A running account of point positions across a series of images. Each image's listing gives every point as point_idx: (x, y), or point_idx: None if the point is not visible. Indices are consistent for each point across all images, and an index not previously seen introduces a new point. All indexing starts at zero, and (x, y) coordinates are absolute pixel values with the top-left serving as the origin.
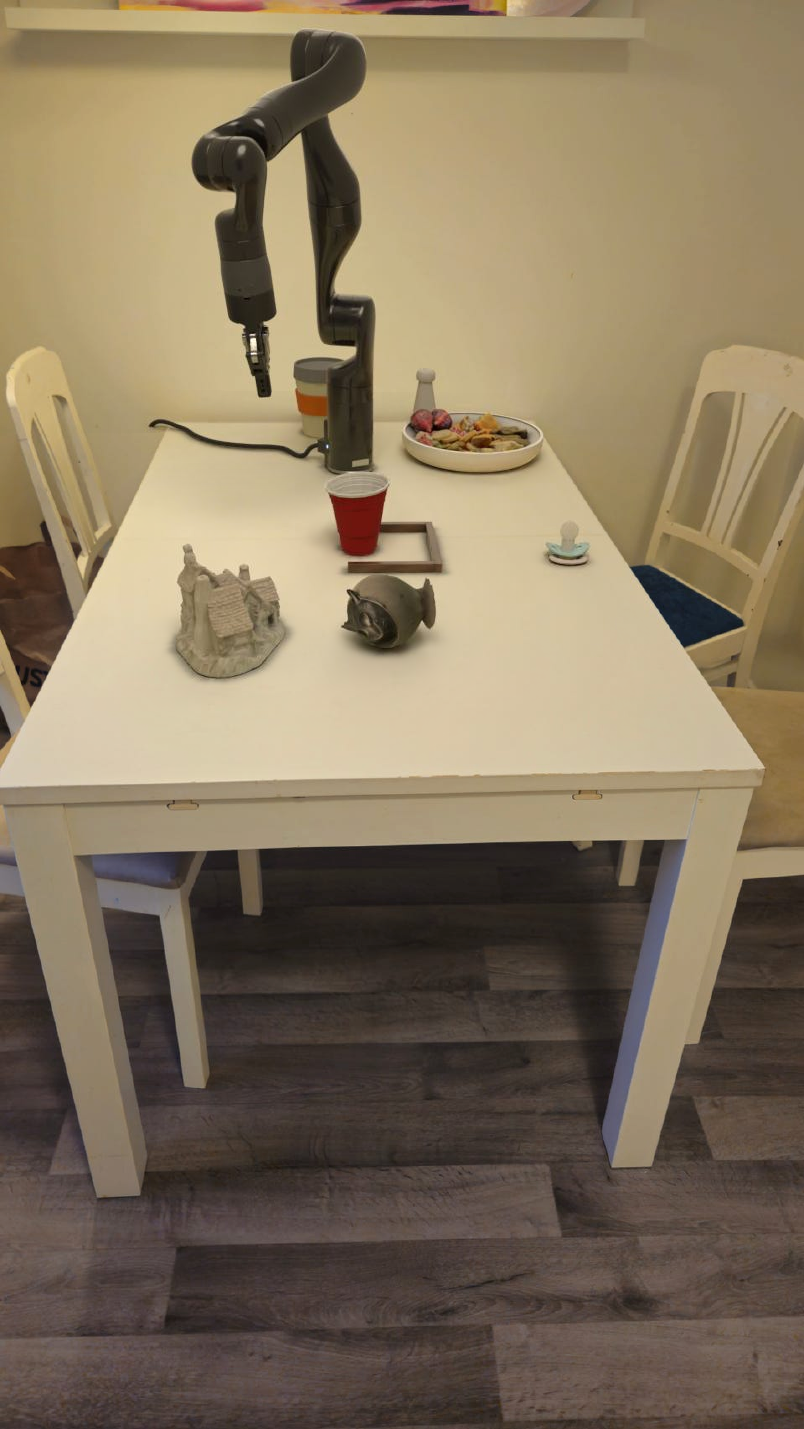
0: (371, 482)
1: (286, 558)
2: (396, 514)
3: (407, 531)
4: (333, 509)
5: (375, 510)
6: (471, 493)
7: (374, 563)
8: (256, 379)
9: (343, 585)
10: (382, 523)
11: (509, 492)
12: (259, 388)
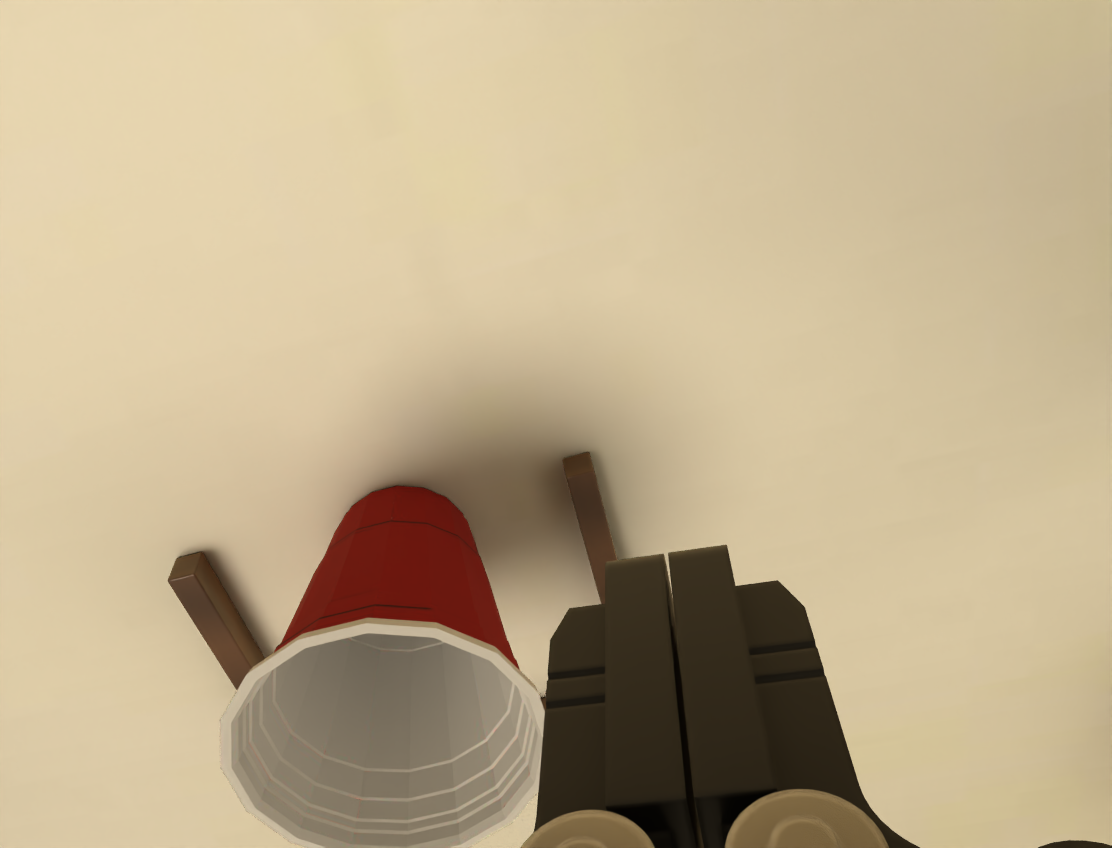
0: (521, 741)
1: (209, 315)
2: (779, 569)
3: None
4: (333, 588)
5: (336, 745)
6: (993, 718)
7: (218, 648)
8: (606, 762)
9: (65, 569)
10: (604, 587)
11: (997, 795)
12: (549, 696)
